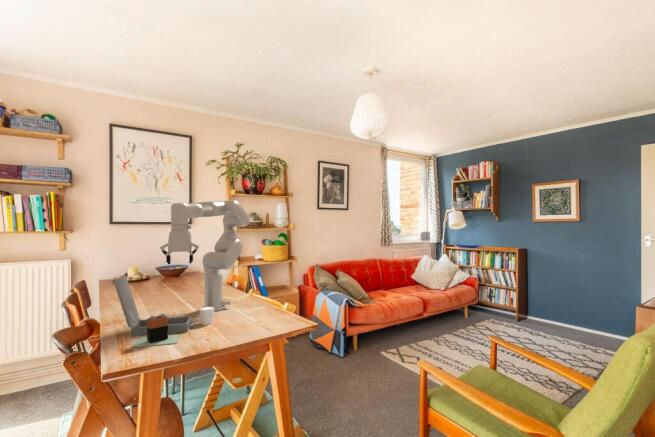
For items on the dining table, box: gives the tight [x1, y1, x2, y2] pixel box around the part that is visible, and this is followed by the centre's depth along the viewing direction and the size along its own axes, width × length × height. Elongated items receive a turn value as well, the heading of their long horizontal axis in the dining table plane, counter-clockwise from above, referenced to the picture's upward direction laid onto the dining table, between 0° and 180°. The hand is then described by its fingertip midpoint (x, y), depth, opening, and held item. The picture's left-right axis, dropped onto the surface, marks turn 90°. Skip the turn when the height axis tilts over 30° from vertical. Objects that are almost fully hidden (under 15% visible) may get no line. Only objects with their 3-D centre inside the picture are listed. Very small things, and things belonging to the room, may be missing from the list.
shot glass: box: [198, 306, 215, 326], centre depth 153 cm, size 7×7×7 cm
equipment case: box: [128, 310, 192, 337], centre depth 143 cm, size 23×12×11 cm, turn 105°
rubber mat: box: [130, 333, 182, 349], centre depth 129 cm, size 16×10×1 cm, turn 105°
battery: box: [146, 313, 169, 343], centre depth 129 cm, size 4×7×10 cm, turn 134°
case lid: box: [113, 275, 140, 329], centre depth 139 cm, size 21×12×1 cm
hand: (179, 263), depth 155 cm, fingers open, 9 cm apart
